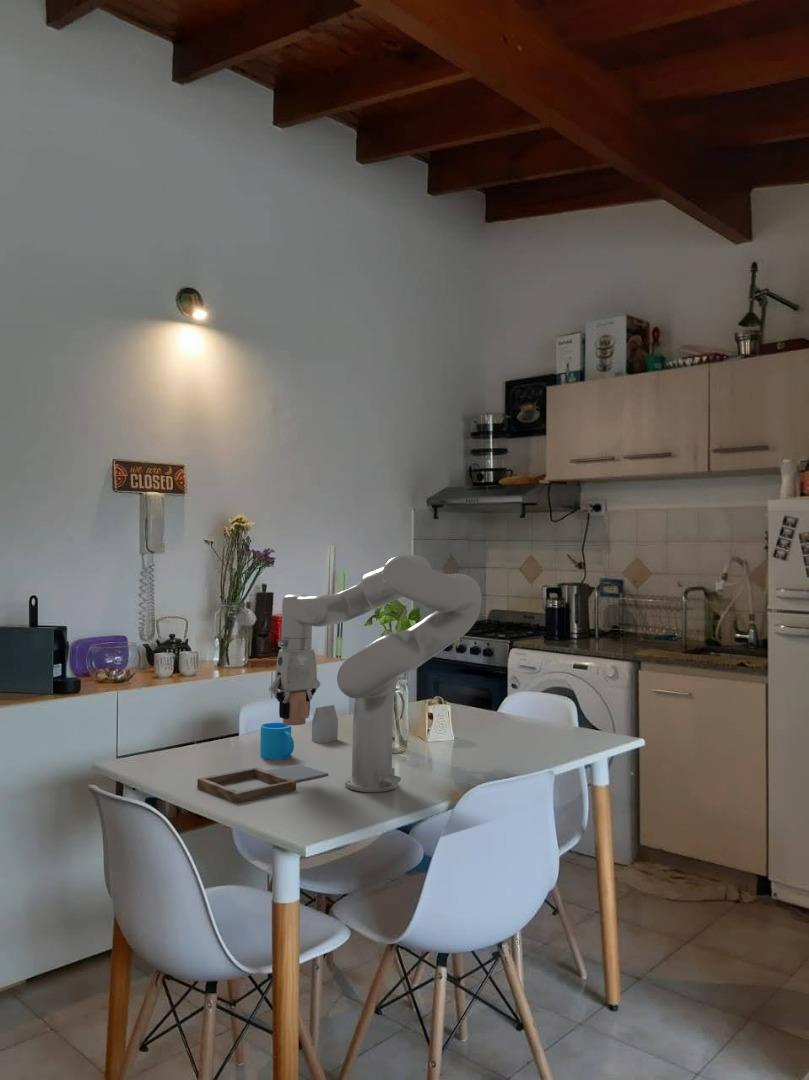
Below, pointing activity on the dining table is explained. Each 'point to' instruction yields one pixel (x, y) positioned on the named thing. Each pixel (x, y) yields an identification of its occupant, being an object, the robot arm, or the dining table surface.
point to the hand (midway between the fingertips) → (294, 716)
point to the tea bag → (325, 724)
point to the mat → (298, 772)
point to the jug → (297, 708)
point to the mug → (276, 741)
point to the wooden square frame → (278, 786)
